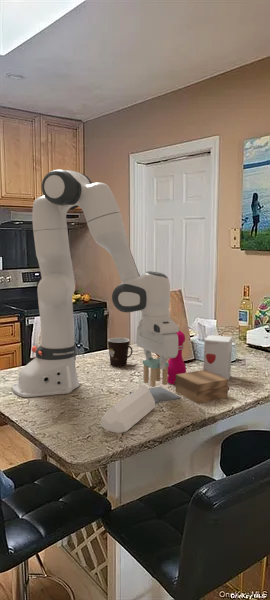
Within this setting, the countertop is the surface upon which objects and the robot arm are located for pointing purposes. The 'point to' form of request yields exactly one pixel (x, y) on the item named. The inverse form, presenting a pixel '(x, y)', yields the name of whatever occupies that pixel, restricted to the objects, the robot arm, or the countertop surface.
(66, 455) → the countertop surface
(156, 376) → the stool
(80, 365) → the countertop surface
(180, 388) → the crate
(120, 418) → the crystal
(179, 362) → the pepper mill
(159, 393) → the mat
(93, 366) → the countertop surface
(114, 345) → the coffee mug
